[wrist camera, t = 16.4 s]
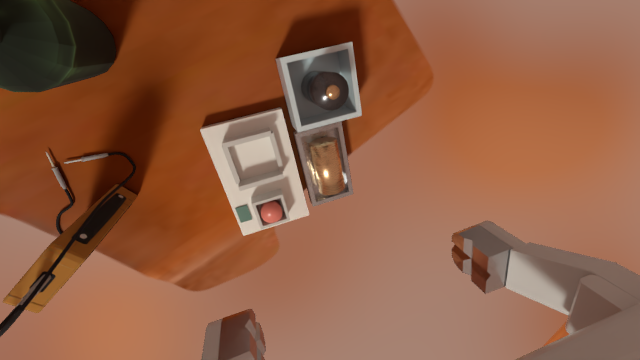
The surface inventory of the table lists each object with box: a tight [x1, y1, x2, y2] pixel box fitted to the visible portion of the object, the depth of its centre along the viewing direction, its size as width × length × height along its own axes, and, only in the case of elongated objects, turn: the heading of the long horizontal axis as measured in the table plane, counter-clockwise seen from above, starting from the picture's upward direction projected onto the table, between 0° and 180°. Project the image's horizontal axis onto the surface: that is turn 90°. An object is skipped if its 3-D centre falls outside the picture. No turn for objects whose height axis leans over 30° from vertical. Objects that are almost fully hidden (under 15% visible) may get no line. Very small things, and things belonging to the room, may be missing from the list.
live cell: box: [308, 137, 345, 195], centre depth 37 cm, size 8×4×4 cm, turn 12°
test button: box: [261, 200, 282, 223], centre depth 36 cm, size 3×3×2 cm
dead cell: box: [301, 71, 349, 111], centre depth 30 cm, size 4×4×8 cm
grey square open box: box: [276, 42, 362, 132], centre depth 32 cm, size 8×8×4 cm
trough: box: [293, 121, 353, 206], centre depth 38 cm, size 11×6×2 cm, turn 12°
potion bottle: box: [0, 0, 116, 92], centre depth 19 cm, size 8×8×18 cm
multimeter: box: [0, 152, 137, 336], centre depth 23 cm, size 15×10×20 cm
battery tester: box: [200, 107, 309, 236], centre depth 35 cm, size 16×10×4 cm, turn 12°
